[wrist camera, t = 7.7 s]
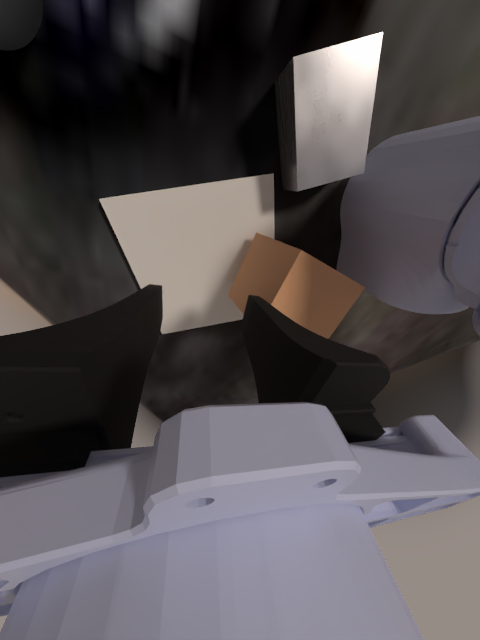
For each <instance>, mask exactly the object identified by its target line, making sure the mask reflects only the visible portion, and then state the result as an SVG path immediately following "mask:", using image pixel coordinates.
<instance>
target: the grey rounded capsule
mask: <svg viewBox="0 0 480 640" xmlns="http://www.w3.org/2000/svg"><path fill="white" fill-rule="evenodd" d="M42 13H43V0H0V50H16V49H20V48H22V47H24V46H26V45H27V44H29V43H30V42H31V41H32V40H33V38H34V37H35V36H36V34H37V32H38V30H39V27H40V24H41V20H42Z"/></svg>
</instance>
